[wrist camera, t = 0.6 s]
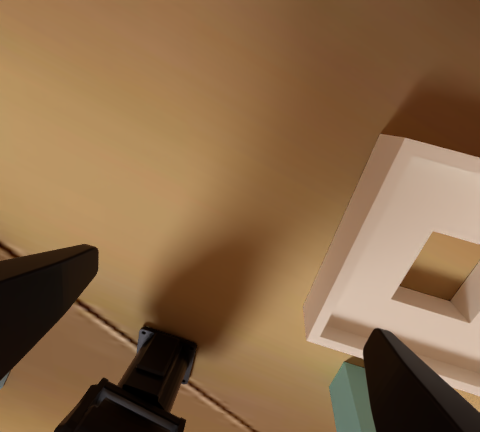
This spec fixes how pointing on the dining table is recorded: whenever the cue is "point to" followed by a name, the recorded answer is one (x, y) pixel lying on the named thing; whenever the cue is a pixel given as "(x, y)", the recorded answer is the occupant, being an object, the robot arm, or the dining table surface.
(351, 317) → the box
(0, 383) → the gum box
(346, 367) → the tall teal block
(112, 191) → the dining table surface
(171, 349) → the robot arm
